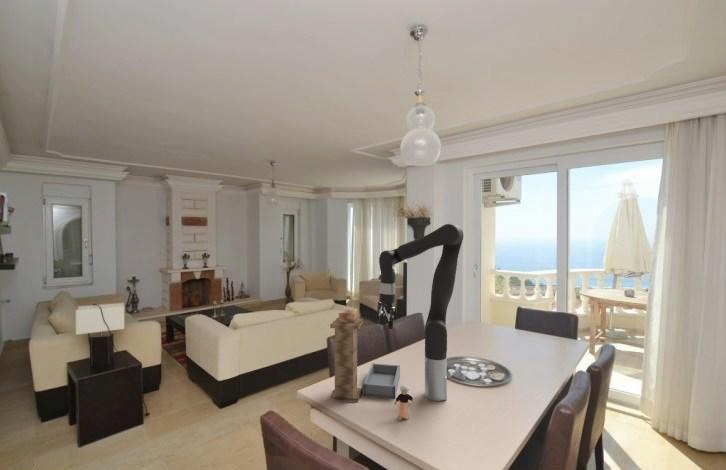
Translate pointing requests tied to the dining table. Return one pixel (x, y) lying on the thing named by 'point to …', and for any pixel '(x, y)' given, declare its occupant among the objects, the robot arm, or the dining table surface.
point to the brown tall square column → (346, 361)
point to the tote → (382, 381)
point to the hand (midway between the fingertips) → (385, 326)
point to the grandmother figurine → (403, 402)
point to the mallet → (348, 315)
